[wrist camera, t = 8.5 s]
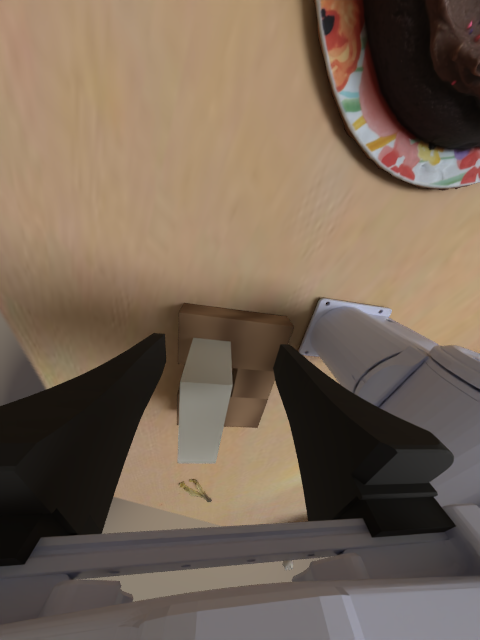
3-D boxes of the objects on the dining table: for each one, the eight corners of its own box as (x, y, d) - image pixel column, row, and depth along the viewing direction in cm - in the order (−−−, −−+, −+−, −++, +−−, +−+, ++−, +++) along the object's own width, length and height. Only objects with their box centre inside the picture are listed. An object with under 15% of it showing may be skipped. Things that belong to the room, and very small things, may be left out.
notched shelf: (286, 316, 21) (294, 326, 19) (255, 412, 29) (257, 427, 27) (184, 303, 19) (178, 312, 17) (180, 409, 27) (176, 425, 25)
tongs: (207, 498, 45) (206, 509, 43) (179, 476, 39) (176, 487, 37) (222, 493, 44) (221, 504, 42) (195, 470, 39) (193, 482, 37)
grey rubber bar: (230, 341, 19) (232, 385, 14) (217, 412, 24) (215, 463, 19) (193, 337, 18) (180, 381, 13) (188, 410, 24) (177, 463, 18)
